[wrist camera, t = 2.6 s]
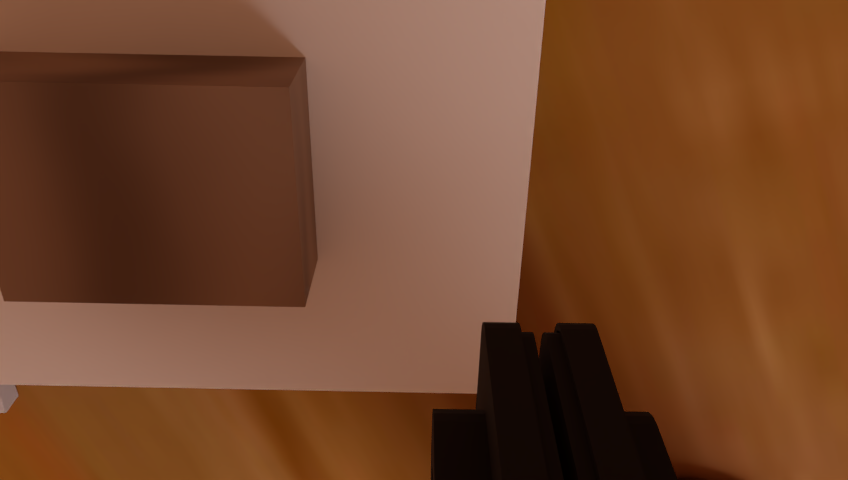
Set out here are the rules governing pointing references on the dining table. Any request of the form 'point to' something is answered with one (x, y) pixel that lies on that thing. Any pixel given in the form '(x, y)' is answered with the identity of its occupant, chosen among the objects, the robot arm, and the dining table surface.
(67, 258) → the tile
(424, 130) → the deck
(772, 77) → the dining table surface
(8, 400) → the mat
